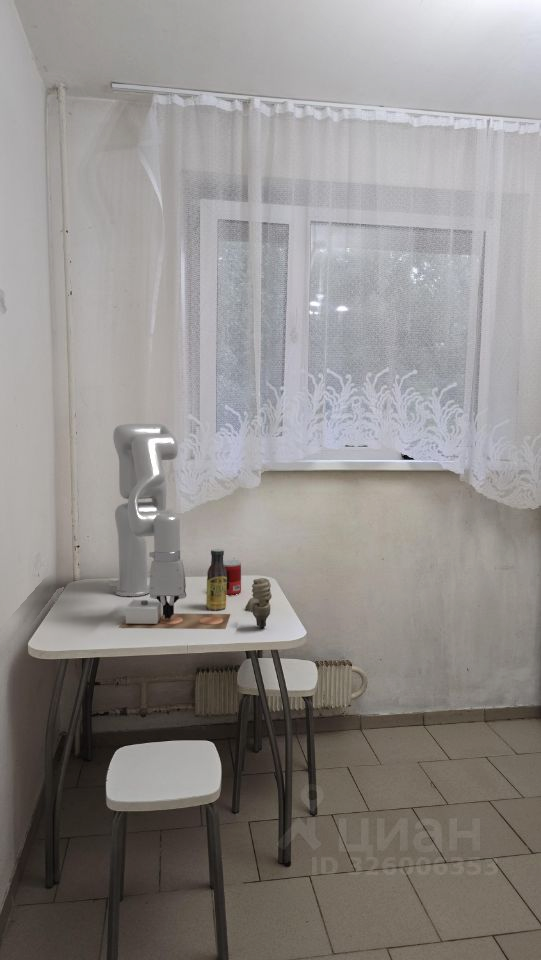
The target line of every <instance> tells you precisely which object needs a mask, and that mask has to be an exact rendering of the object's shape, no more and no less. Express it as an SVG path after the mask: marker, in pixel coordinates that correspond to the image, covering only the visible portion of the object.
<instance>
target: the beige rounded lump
mask: <svg viewBox="0 0 541 960" xmlns="http://www.w3.org/2000/svg"><path fill="white" fill-rule="evenodd" d="M272 598H273V597H272V591H270V597H269V599H267V600H266V603H268V604H270V600H271V599H272ZM254 603H259V600H258V599H257V598H254V597H253V596H252V597H251V598H249V600H248V601H247V604H246V605H245V607H244V608H245V609H246V611H248V612H250V611H251V613H253V610H252V607H253V604H254ZM245 609H244V610H245Z"/></svg>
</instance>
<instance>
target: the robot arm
mask: <svg viewBox="0 0 541 960" xmlns="http://www.w3.org/2000/svg"><path fill="white" fill-rule="evenodd" d="M112 434H113V435H112V436H113V437H112V439H113V444H114V448H115V450H116V451H115V452H116V454H117V456H118V466H119V467H118V484H119V494H120V495H121V496H120V497H122V498H123V499H126V500H127V502H125V503H121V504H119V505H118V506H117V507H116V508H115V510H114V521H115V525H116V531H117V540H118V543H117V544H118V572H119V573H118V574H119V575H118V576H119V579H117V580H113V579H112V580H110V579H108V580H107V587H110V588H111V587H112V588H114V587H115V588H116V589H115V590H114V592H115V595H117V596H120V597H127V596H130V597H131V596H132V597H139V596H140V595H141V596H145V594H146V595H148V593H149V598H151V599H153V600H158V601H159V602H160V603H161V604H162V605H163V615H165V619H167V618H168V619H170V618H171V617H172V615H174V614H175V611H174V610H175V603H177V601H178V600H184V599H186V597H187V593H186V589H187V588H186V587H187V586H186V572H185V567H184V566H185V565H184V562H183V560H182V559H181V530H180V529H181V527H180V526H181V524H180V523H181V522H180V517H179V516H178V515H177V514H176V513H175V512H174V511H173V510H171V509H170V510H169V509H167V482H166V476H165V470H164V467H163V461H172V460H175V459H176V458H177V456H178V453H179V452H178V451H179V447H178V442H177V439H176V437H175V436H174V434H173V432H172V431H171V430H169V428H168V427H167V426H166V425H165V424H161V423H124V424H119V425H117V426H116V427H115V428H114V430H113V433H112ZM143 499H144V500H146V499H151V500H150V501H139V500H143ZM145 537H153V549H154V550H153V551H152V552H149V554H148V553H147V541H146V539H145ZM148 555H149V558H153V560H152V561H151V564H150V569H149V584H148V561H147V560H148V557H147V556H148ZM168 597H169V601H168Z"/></svg>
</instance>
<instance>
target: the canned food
mask: <svg viewBox="0 0 541 960" xmlns="http://www.w3.org/2000/svg"><path fill="white" fill-rule="evenodd" d="M223 564H224V566H225V568H226V576H227V585H226V595H234V596H237V595H236V594H238V595H240V594H241V592H242V563H241V561H240V560H238V559H237V560H236V559H225V560H224V559H223ZM239 593H240V594H239Z"/></svg>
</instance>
